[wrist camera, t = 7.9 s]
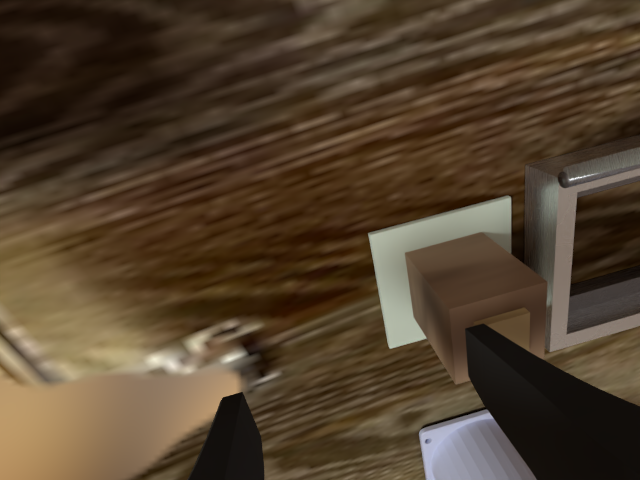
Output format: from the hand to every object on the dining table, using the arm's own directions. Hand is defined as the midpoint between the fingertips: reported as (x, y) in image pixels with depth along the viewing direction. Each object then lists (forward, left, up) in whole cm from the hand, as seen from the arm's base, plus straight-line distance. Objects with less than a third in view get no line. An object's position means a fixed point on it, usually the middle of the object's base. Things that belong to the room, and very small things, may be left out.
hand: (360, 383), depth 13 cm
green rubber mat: (-4, -7, -10) cm, 13 cm away
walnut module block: (-4, -7, -10) cm, 13 cm away
